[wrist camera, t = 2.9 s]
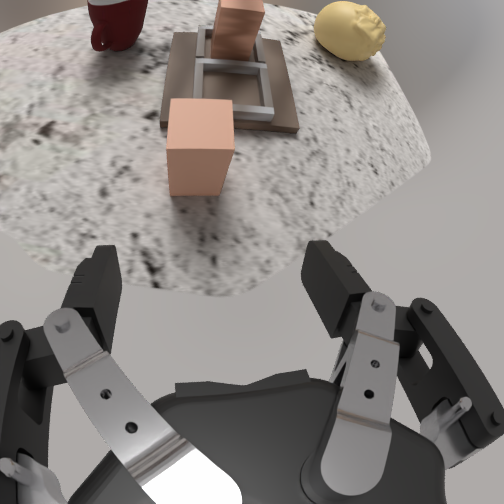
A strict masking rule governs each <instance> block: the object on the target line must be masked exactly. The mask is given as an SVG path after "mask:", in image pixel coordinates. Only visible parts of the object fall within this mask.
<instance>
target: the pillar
mask: <svg viewBox="0 0 504 504" xmlns="http://www.w3.org/2000/svg"><path fill="white" fill-rule="evenodd" d="M234 150H235V144H234V126H233V108H232V100H222V99H190V98H174V99H171V102H170V112H169V122H168V134H167V147H166V151H167V166H168V178H169V190H170V196H219V195H220V192H221V189H222V186H223V183H224V180H225V177H226V174H227V171H228V168H229V165H230V162H231V159H232V156H233V153H234Z"/></svg>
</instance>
